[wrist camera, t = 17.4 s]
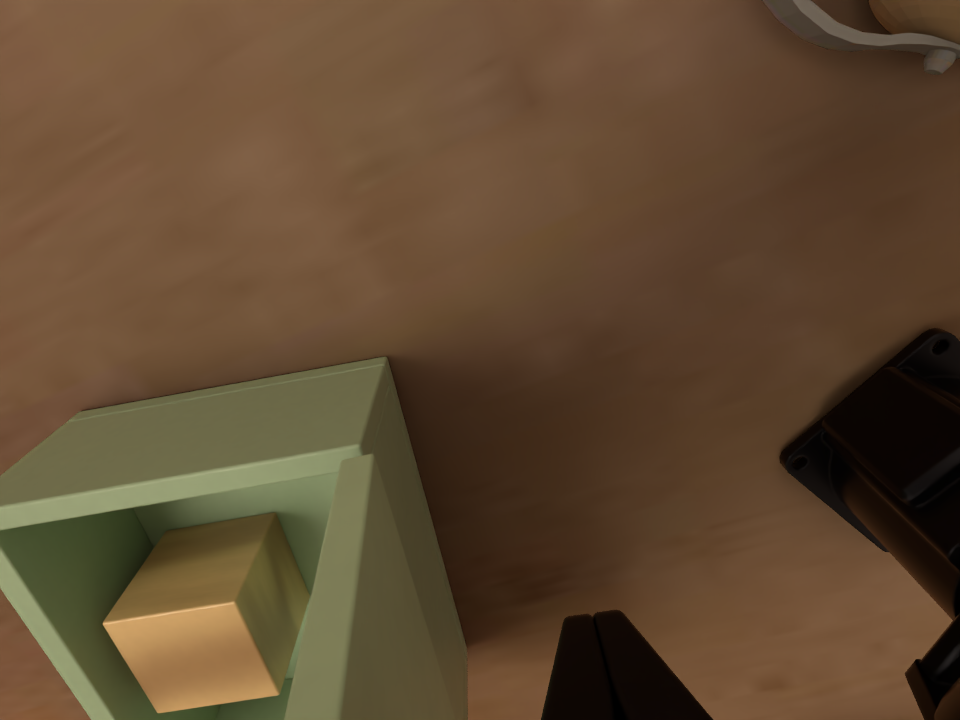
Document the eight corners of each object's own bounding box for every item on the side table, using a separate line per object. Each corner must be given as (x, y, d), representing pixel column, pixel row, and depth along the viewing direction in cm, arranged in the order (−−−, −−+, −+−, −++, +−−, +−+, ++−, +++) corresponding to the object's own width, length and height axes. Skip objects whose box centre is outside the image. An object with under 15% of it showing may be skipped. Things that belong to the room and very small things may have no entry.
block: (165, 529, 20) (100, 623, 17) (276, 511, 20) (234, 602, 17) (207, 612, 22) (157, 714, 18) (311, 596, 22) (280, 696, 18)
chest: (224, 685, 25) (165, 828, 20) (78, 411, 19) (-52, 515, 14) (467, 648, 24) (468, 786, 19) (387, 355, 19) (360, 444, 14)
